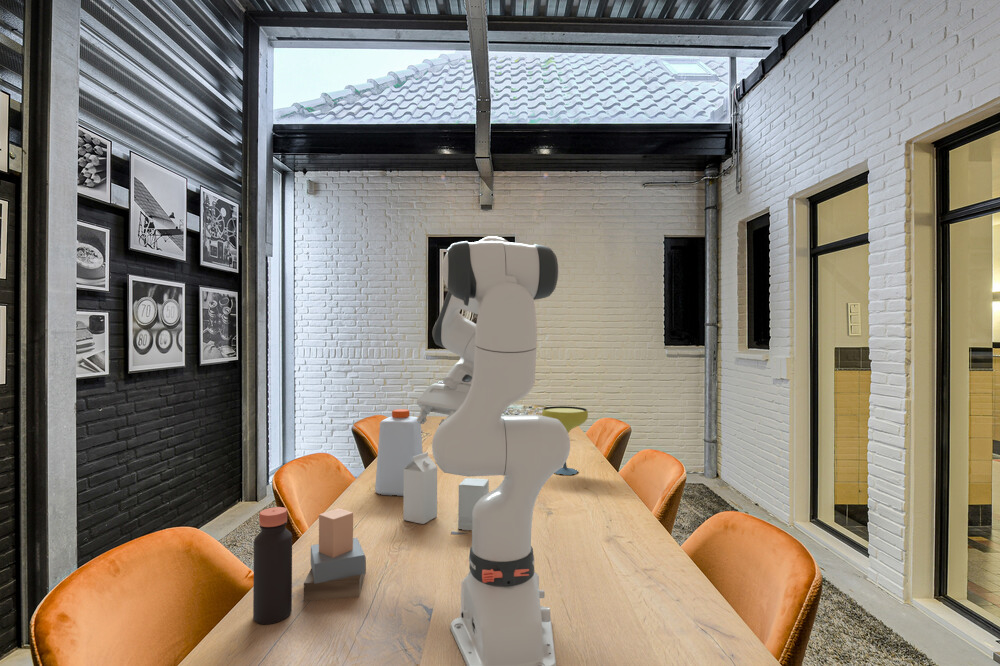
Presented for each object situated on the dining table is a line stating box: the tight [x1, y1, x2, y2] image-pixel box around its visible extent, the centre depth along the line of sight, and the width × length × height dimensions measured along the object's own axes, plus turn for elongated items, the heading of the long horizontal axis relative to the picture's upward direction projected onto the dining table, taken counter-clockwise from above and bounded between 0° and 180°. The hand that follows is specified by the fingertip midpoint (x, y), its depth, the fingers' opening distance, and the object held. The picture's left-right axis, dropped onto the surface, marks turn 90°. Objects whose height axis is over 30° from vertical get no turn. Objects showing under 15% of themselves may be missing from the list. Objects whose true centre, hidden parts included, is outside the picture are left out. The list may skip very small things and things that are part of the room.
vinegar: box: [252, 506, 293, 625], centre depth 95 cm, size 7×7×20 cm
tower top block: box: [310, 537, 366, 584], centre depth 107 cm, size 10×10×4 cm
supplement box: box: [457, 477, 490, 531], centre depth 140 cm, size 7×7×13 cm
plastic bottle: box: [374, 408, 424, 497], centre depth 173 cm, size 15×15×28 cm
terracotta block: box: [318, 507, 354, 558], centre depth 107 cm, size 5×5×8 cm
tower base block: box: [303, 555, 367, 602], centre depth 107 cm, size 11×11×4 cm
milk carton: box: [402, 451, 438, 525], centre depth 146 cm, size 7×7×19 cm
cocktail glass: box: [541, 405, 589, 476], centre depth 197 cm, size 18×18×25 cm
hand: (430, 424), depth 125 cm, fingers open, 8 cm apart
